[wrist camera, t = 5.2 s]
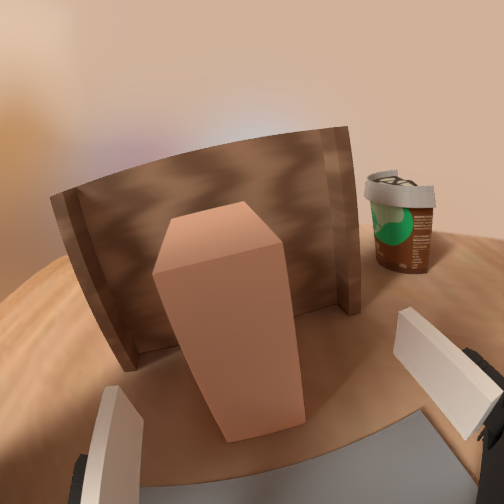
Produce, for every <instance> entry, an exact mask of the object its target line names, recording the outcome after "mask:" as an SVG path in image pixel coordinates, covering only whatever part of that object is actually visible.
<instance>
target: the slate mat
mask: <svg viewBox="0 0 504 504" xmlns="http://www.w3.org/2000/svg"><path fill="white" fill-rule="evenodd" d="M477 492H478V486H477V485H476V483H475V482H474V480H473V479H472V478H471V476H470V475H469V474H468V472H467V471H466V469H465V468H464V467H463V465H462V464H461V463H460V461H459V460H458V459H457V457H456V456H455V455H454V453H453V452H452V451H451V449H450V448H449V447H448V445H447V444H446V443H445V441H444V440H443V439H442V437H441V436H440V435H439V433H438V432H437V431H436V430H435V428H434V427H433V426H432V424H431V423H430V422H429V421H428V419H427V418H426V417H425V415H424V414H423V413H422V412H421V410H418V411H416V412H415V413H413V414H411V415H409V416H408V417H406V418H404V419H402V420H400V421H398V422H397V423H395V424H393V425H391V426H389V427H387V428H385V429H383V430H381V431H379V432H377V433H375V434H372V435H370V436H368V437H366V438H364V439H361V440H359V441H357V442H355V443H352V444H350V445H347V446H345V447H342V448H340V449H337V450H335V451H332V452H329V453H327V454H324V455H321V456H318V457H315V458H312V459H309V460H306V461H303V462H300V463H297V464H293V465H290V466H286V467H283V468H279V469H275V470H271V471H267V472H263V473H259V474H254V475H250V476H245V477H240V478H234V479H228V480H222V481H216V482H208V483H200V484H190V485H179V486H160V487H139V504H475V503H476V498H477Z"/></svg>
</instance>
